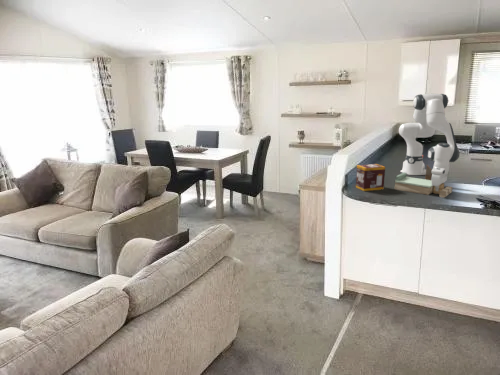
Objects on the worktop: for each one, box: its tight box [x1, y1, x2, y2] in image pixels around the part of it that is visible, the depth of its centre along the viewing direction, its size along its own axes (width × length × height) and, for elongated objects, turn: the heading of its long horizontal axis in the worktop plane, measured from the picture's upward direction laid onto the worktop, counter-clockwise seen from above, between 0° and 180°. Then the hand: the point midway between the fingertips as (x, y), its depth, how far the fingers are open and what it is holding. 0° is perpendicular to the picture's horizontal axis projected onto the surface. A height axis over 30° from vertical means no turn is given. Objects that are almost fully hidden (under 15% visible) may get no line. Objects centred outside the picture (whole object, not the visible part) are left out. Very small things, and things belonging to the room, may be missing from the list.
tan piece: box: [394, 182, 453, 199], centre depth 256 cm, size 16×31×4 cm, turn 49°
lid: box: [394, 172, 432, 188], centre depth 258 cm, size 16×22×4 cm
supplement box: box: [355, 163, 386, 192], centre depth 262 cm, size 10×15×16 cm
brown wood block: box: [432, 182, 445, 195], centre depth 250 cm, size 4×5×6 cm
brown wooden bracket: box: [424, 164, 433, 180], centre depth 266 cm, size 4×11×18 cm, turn 64°
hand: (438, 190), depth 250 cm, fingers closed on brown wood block, 4 cm apart
